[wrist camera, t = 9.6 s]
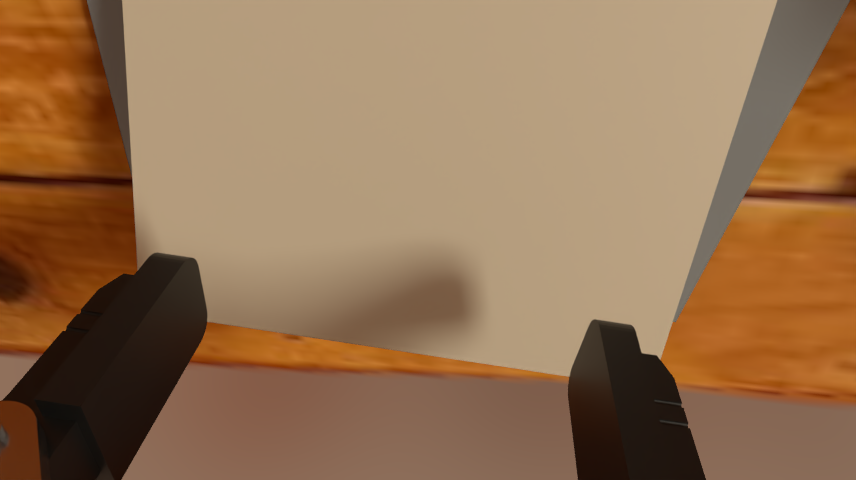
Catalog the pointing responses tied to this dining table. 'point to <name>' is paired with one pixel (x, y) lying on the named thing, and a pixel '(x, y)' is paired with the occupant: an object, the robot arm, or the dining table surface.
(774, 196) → the dining table surface
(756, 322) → the dining table surface
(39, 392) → the robot arm
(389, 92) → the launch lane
